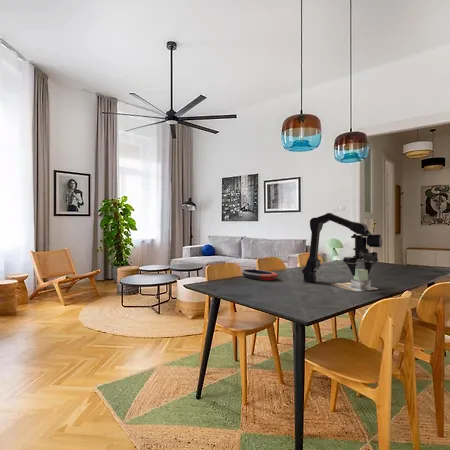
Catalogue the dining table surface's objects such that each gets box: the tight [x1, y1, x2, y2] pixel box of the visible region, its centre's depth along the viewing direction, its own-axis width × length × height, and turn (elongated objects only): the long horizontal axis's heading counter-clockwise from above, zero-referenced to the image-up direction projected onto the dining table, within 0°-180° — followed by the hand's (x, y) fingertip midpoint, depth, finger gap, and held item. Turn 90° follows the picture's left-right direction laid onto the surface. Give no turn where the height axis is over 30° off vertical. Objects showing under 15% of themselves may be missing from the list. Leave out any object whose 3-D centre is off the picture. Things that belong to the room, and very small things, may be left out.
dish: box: [240, 268, 279, 281], centre depth 210 cm, size 16×31×5 cm, turn 37°
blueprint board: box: [330, 278, 378, 294], centre depth 176 cm, size 16×20×6 cm
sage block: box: [353, 268, 369, 281], centre depth 171 cm, size 5×5×6 cm
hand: (360, 275), depth 171 cm, fingers open, 9 cm apart
